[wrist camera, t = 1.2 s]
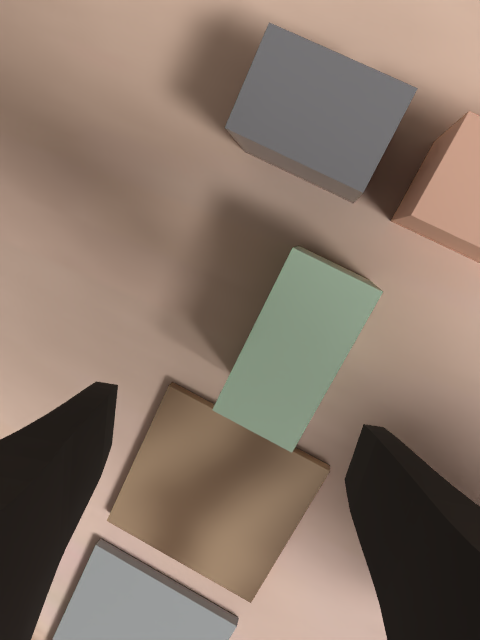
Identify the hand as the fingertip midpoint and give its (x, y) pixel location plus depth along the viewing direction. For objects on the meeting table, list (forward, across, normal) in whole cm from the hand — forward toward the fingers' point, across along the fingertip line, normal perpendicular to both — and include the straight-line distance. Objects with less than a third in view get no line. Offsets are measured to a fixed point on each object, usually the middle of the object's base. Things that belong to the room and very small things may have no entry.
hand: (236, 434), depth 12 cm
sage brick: (+11, -4, +1) cm, 11 cm away
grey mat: (+9, +2, +23) cm, 25 cm away
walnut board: (+10, -1, +11) cm, 15 cm away
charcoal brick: (+12, -2, -9) cm, 15 cm away
